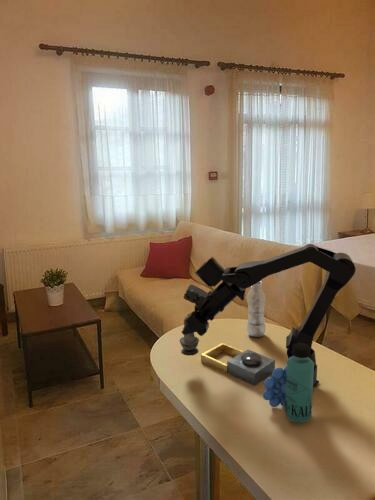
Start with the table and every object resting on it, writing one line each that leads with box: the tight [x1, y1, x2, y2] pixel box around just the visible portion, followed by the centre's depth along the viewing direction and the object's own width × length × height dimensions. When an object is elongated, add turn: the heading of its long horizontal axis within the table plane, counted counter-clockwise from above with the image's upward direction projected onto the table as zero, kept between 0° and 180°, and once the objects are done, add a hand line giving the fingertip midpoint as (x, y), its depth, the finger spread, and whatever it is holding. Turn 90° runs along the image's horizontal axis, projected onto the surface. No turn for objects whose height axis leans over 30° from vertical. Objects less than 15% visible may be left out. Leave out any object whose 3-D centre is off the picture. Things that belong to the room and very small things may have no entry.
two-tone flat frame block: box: [200, 342, 276, 387], centre depth 120 cm, size 21×11×5 cm, turn 44°
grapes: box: [262, 364, 287, 408], centre depth 101 cm, size 12×7×12 cm, turn 96°
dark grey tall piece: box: [179, 313, 200, 356], centre depth 116 cm, size 6×6×12 cm
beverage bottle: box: [283, 343, 314, 423], centre depth 94 cm, size 6×7×20 cm
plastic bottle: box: [246, 281, 267, 338], centre depth 139 cm, size 6×7×20 cm
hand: (184, 330), depth 117 cm, fingers closed on dark grey tall piece, 4 cm apart
